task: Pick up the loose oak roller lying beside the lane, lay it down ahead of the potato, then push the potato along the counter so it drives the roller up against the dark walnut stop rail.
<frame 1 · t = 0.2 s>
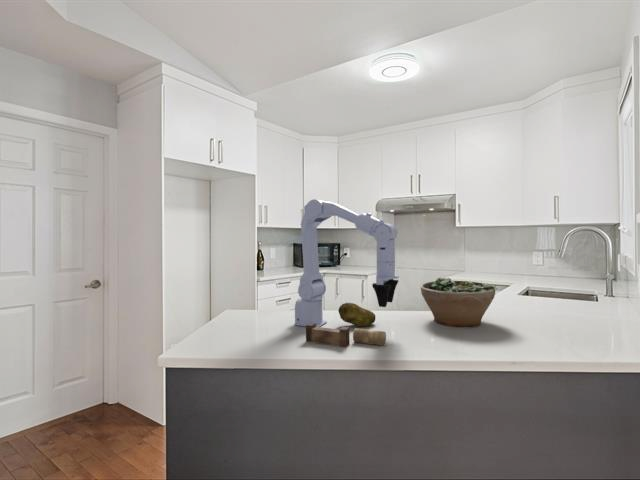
hand: (385, 304, 118), 10 cm above the countertop, fingers open, 7 cm apart
roller: (369, 343, 111), on the countertop
planter: (456, 322, 135), on the countertop
potato: (357, 326, 131), on the countertop
stop rail: (327, 342, 112), on the countertop
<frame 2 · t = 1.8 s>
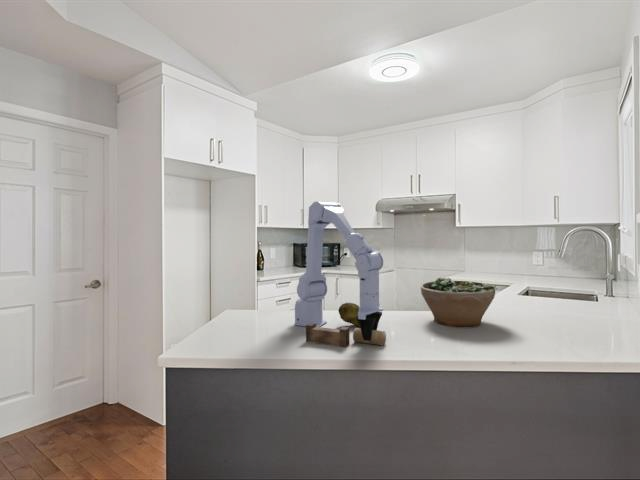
hand: (369, 338, 111), 1 cm above the countertop, fingers closed on roller, 4 cm apart
roller: (369, 343, 111), on the countertop, touching gripper
everything else where it was.
when the fingers open (2 cm above the countertop, at t = 5.2 s): roller stays where it is, on the countertop.
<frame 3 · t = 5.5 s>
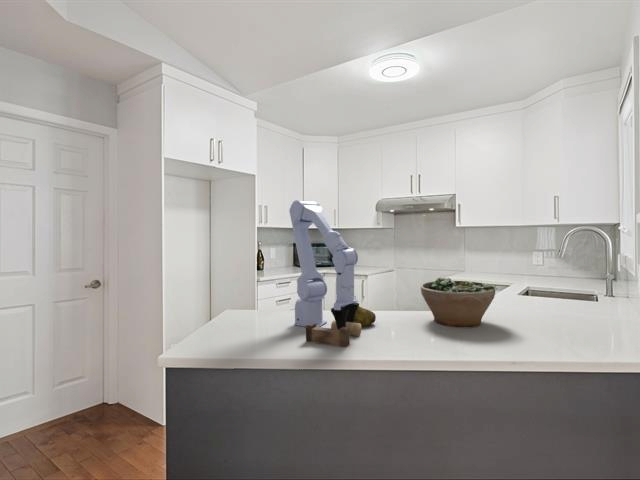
hand: (345, 327, 121), 2 cm above the countertop, fingers open, 7 cm apart
roller: (346, 334, 121), on the countertop
everything else where it was.
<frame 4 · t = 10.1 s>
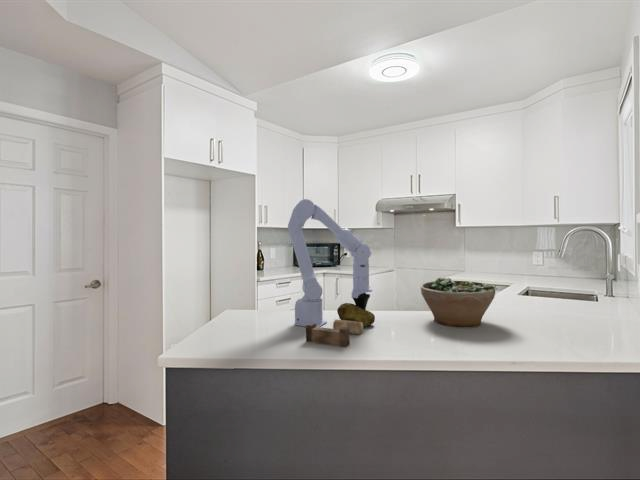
hand: (361, 314, 135), 3 cm above the countertop, fingers closed
roller: (346, 331, 121), point 1 cm above the countertop, tilted 55°
potato: (356, 326, 130), on the countertop, touching gripper
everything else where it was.
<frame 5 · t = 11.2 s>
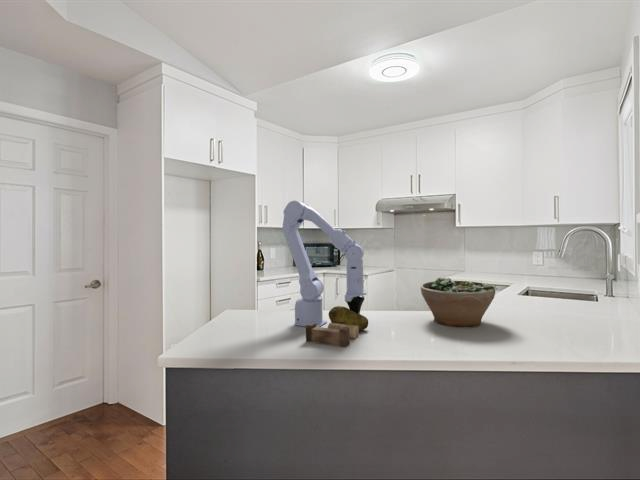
hand: (355, 318, 129), 3 cm above the countertop, fingers closed
roller: (345, 329, 120), point 2 cm above the countertop, tilted 87°
potato: (348, 331, 124), on the countertop, touching gripper
everything else where it was.
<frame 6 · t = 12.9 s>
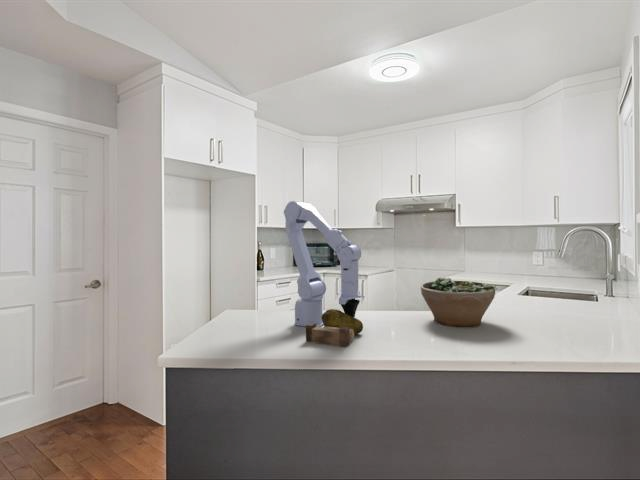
hand: (350, 321, 124), 3 cm above the countertop, fingers closed
roller: (336, 330, 113), point 3 cm above the countertop, tilted 141°
potato: (342, 335, 120), on the countertop, touching gripper
everything else where it was.
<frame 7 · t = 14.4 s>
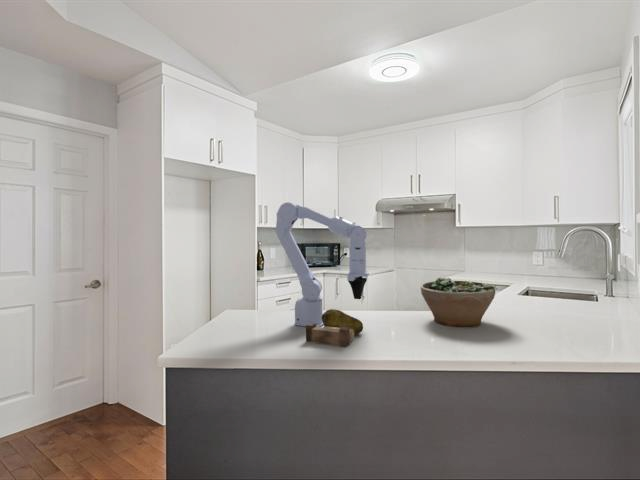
hand: (357, 298, 131), 9 cm above the countertop, fingers closed
potato: (342, 335, 120), on the countertop
everything else where it was.
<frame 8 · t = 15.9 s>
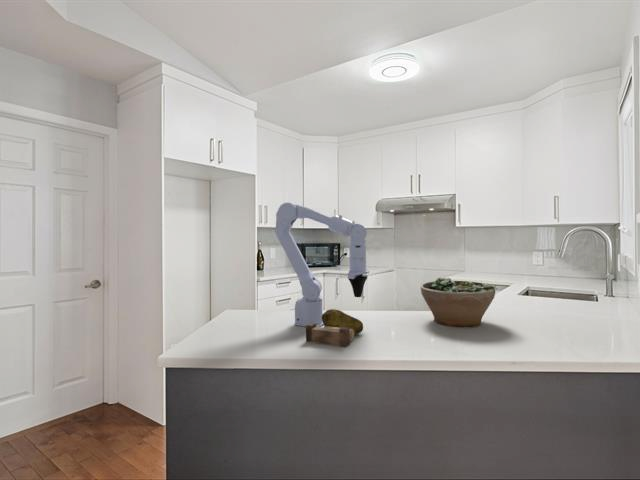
hand: (357, 296, 131), 10 cm above the countertop, fingers closed
roller: (336, 329, 113), point 3 cm above the countertop, tilted 147°
everything else where it was.
at the end: potato inside the target area (1.1 cm from its centre), on the countertop; roller inside the target area (2.6 cm from its centre), point 3.5 cm above the countertop; potato 7.2 cm from the roller (horizontally) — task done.
